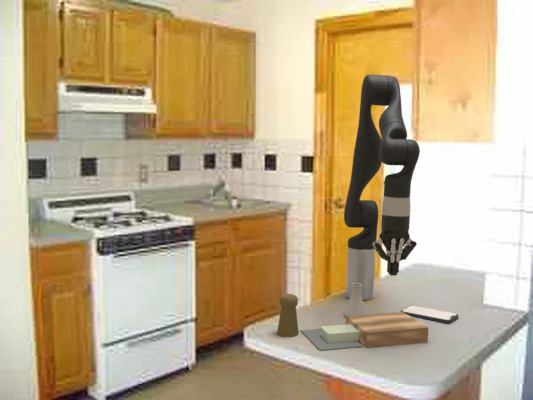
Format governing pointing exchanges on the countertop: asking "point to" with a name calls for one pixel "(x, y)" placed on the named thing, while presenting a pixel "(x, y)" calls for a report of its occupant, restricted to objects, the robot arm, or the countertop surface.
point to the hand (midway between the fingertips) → (392, 274)
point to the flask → (355, 302)
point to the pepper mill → (288, 316)
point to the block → (339, 333)
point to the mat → (324, 345)
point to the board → (388, 329)
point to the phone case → (431, 314)
